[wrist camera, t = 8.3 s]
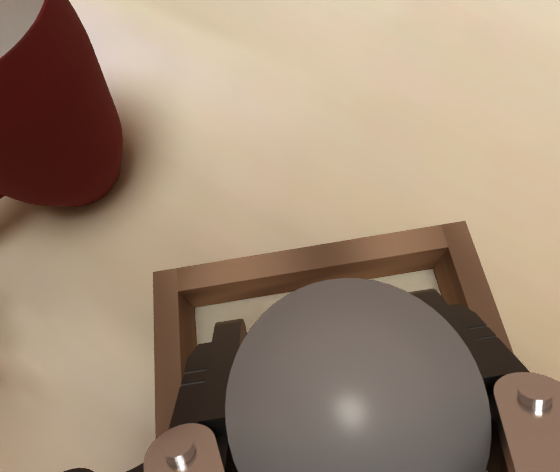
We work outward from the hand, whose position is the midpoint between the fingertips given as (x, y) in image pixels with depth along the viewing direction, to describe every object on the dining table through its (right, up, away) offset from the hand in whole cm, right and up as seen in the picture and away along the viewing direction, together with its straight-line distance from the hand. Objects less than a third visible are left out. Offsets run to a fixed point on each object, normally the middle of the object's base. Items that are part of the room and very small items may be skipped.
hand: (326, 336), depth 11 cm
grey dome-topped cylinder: (+1, -3, +3) cm, 5 cm away
